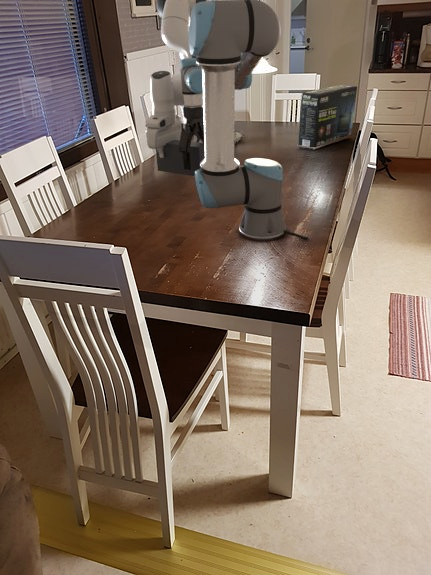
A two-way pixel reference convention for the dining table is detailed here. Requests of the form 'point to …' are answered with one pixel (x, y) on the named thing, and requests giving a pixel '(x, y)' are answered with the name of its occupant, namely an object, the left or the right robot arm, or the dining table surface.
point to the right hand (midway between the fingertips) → (196, 164)
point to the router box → (326, 115)
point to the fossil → (238, 135)
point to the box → (180, 158)
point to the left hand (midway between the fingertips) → (167, 154)
